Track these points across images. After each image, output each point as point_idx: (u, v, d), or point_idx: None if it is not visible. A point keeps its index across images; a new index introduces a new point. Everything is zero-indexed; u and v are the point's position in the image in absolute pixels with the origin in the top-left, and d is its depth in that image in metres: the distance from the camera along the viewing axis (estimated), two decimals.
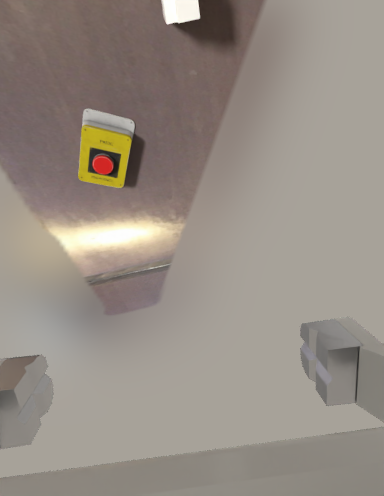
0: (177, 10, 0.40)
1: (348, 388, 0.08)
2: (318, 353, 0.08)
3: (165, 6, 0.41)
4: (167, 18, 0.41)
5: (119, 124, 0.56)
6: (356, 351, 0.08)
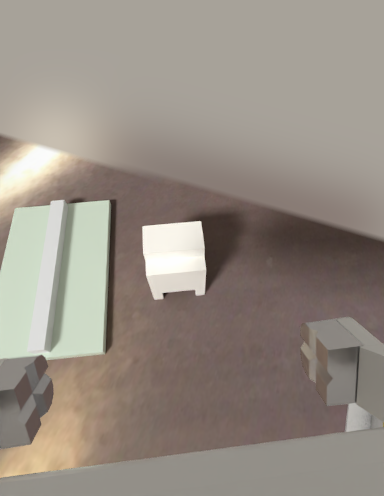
0: (189, 248, 0.27)
1: (348, 388, 0.08)
2: (318, 353, 0.08)
3: (185, 269, 0.28)
4: (199, 268, 0.28)
5: None
6: (356, 351, 0.08)
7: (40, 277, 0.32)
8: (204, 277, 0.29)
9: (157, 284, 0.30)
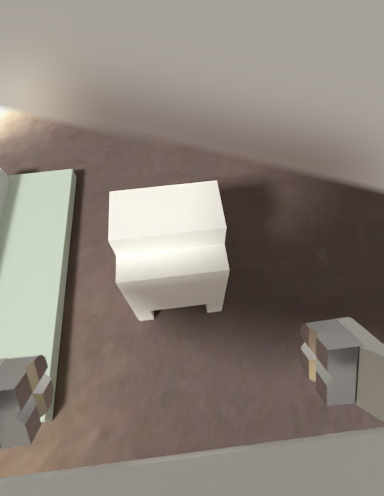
0: (197, 228, 0.14)
1: (348, 388, 0.08)
2: (318, 353, 0.08)
3: (190, 270, 0.15)
4: (216, 267, 0.15)
5: None
6: (356, 351, 0.08)
7: None
8: (224, 283, 0.16)
9: (140, 297, 0.17)
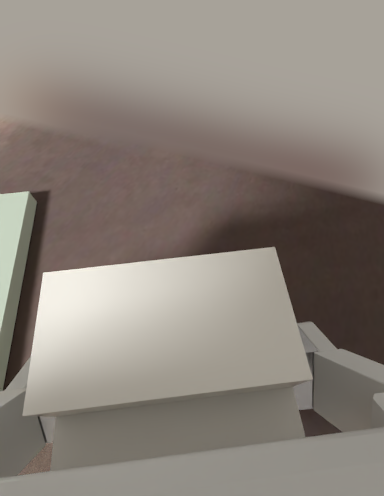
0: (242, 380, 0.06)
1: (304, 394, 0.08)
2: None
3: None
4: None
5: None
6: (311, 357, 0.08)
7: None
8: None
9: None
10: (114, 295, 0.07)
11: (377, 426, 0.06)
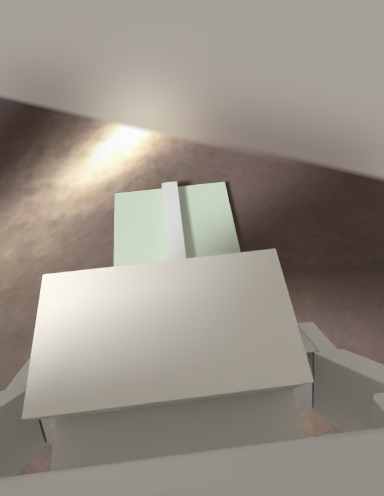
0: (242, 382, 0.06)
1: (304, 394, 0.08)
2: None
3: None
4: None
5: None
6: (311, 357, 0.08)
7: None
8: None
9: None
10: (114, 297, 0.07)
11: (377, 426, 0.06)
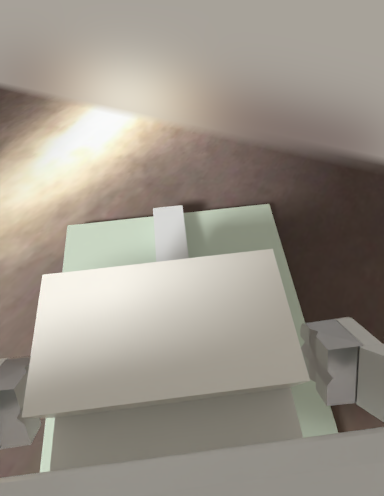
0: (239, 381, 0.06)
1: (348, 388, 0.08)
2: (318, 353, 0.08)
3: None
4: None
5: None
6: (356, 351, 0.08)
7: None
8: None
9: None
10: (113, 297, 0.07)
11: None
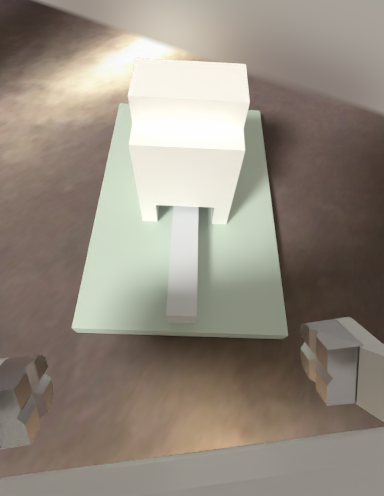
0: (220, 98, 0.14)
1: (348, 388, 0.08)
2: (318, 353, 0.08)
3: (205, 145, 0.15)
4: (232, 146, 0.15)
5: None
6: (356, 351, 0.08)
7: None
8: (236, 174, 0.16)
9: (149, 178, 0.16)
10: (168, 69, 0.15)
11: None
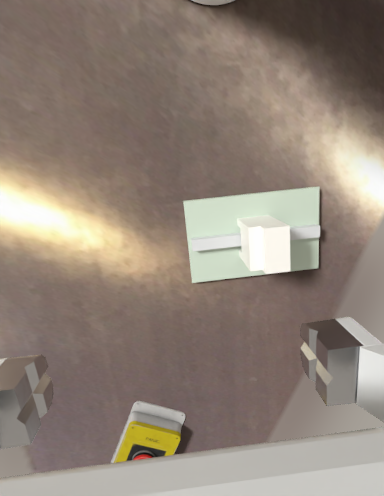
0: (266, 263, 0.36)
1: (348, 388, 0.08)
2: (318, 353, 0.08)
3: (251, 256, 0.37)
4: (252, 266, 0.37)
5: (168, 416, 0.51)
6: (356, 351, 0.08)
7: None
8: (247, 266, 0.39)
9: (244, 230, 0.39)
10: (283, 240, 0.35)
11: None
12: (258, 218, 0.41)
